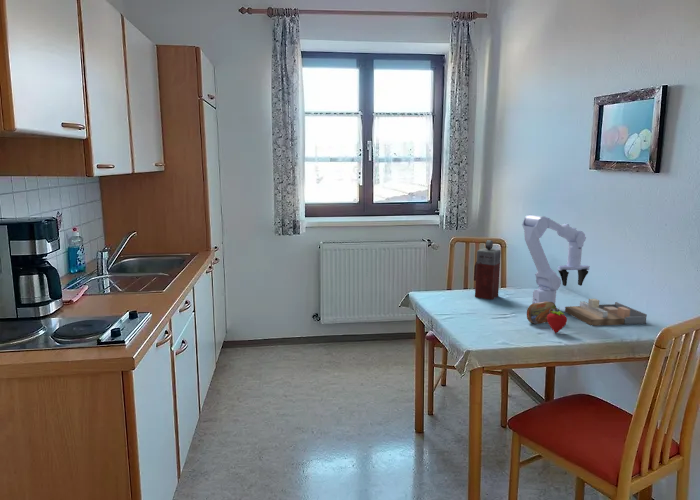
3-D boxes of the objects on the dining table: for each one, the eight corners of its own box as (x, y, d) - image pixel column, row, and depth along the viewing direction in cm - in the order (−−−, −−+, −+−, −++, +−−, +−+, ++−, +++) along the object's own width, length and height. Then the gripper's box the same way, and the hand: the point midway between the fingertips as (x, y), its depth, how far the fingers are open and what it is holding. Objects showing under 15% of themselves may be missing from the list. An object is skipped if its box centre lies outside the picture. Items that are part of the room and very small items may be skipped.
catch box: (624, 324, 218) (625, 315, 218) (595, 311, 238) (596, 302, 237) (645, 323, 219) (646, 314, 219) (615, 310, 239) (616, 301, 238)
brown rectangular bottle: (476, 292, 270) (479, 238, 265) (498, 296, 263) (501, 240, 259) (470, 296, 262) (472, 240, 258) (492, 299, 256) (495, 242, 252)
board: (590, 325, 216) (591, 319, 216) (564, 312, 236) (565, 306, 235) (623, 324, 218) (624, 318, 218) (595, 311, 238) (595, 305, 237)
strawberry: (548, 328, 211) (550, 304, 210) (568, 332, 207) (570, 307, 205) (543, 332, 207) (545, 307, 205) (563, 336, 202) (565, 310, 201)
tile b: (609, 315, 230) (609, 309, 229) (603, 312, 234) (603, 306, 234) (619, 314, 230) (619, 309, 230) (612, 312, 235) (613, 306, 234)
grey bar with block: (601, 318, 218) (602, 304, 217) (578, 307, 235) (579, 294, 234) (608, 317, 219) (609, 304, 218) (584, 306, 235) (585, 294, 234)
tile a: (624, 309, 222) (630, 309, 222) (617, 307, 226) (623, 306, 226) (623, 320, 222) (629, 320, 223) (616, 317, 227) (622, 317, 227)
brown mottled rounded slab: (530, 325, 216) (531, 305, 215) (524, 323, 219) (525, 303, 217) (556, 320, 223) (558, 301, 221) (550, 318, 226) (552, 299, 224)
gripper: (564, 258, 239) (561, 287, 241) (594, 257, 241) (591, 287, 243) (556, 255, 246) (554, 284, 248) (585, 255, 248) (583, 283, 250)
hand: (572, 285), depth 246 cm, fingers open, 7 cm apart
